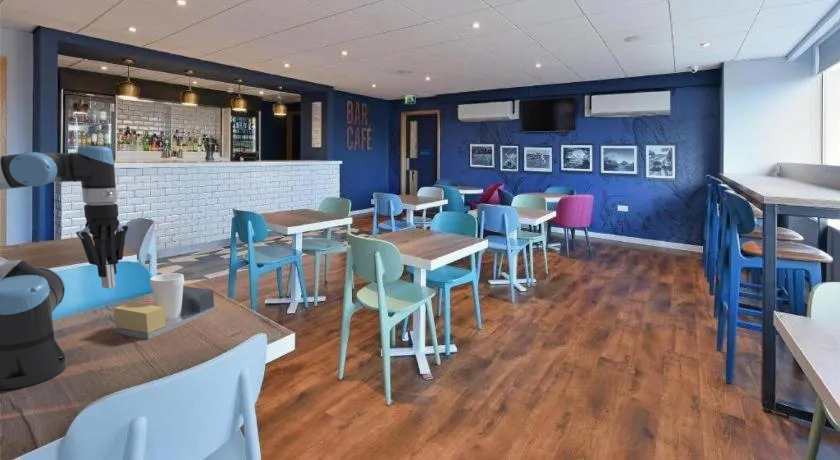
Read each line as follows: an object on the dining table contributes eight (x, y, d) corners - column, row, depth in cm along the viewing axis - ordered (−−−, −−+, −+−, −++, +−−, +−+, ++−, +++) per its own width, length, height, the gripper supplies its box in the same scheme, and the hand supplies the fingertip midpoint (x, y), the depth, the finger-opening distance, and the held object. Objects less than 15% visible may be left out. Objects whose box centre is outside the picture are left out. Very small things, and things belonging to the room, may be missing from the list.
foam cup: (191, 311, 149) (189, 273, 147) (176, 321, 140) (173, 281, 138) (164, 310, 149) (161, 272, 147) (146, 320, 140) (143, 280, 138)
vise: (148, 339, 129) (146, 314, 128) (113, 332, 134) (111, 308, 133) (216, 310, 154) (215, 289, 153) (185, 305, 159) (183, 285, 158)
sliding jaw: (147, 333, 130) (146, 313, 129) (115, 326, 134) (113, 308, 133) (165, 326, 135) (164, 307, 134) (134, 320, 140) (132, 302, 139)
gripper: (85, 206, 113) (94, 295, 117) (133, 202, 126) (140, 282, 129) (64, 205, 116) (74, 292, 119) (114, 200, 128) (121, 279, 132)
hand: (108, 286), depth 124 cm, fingers closed
